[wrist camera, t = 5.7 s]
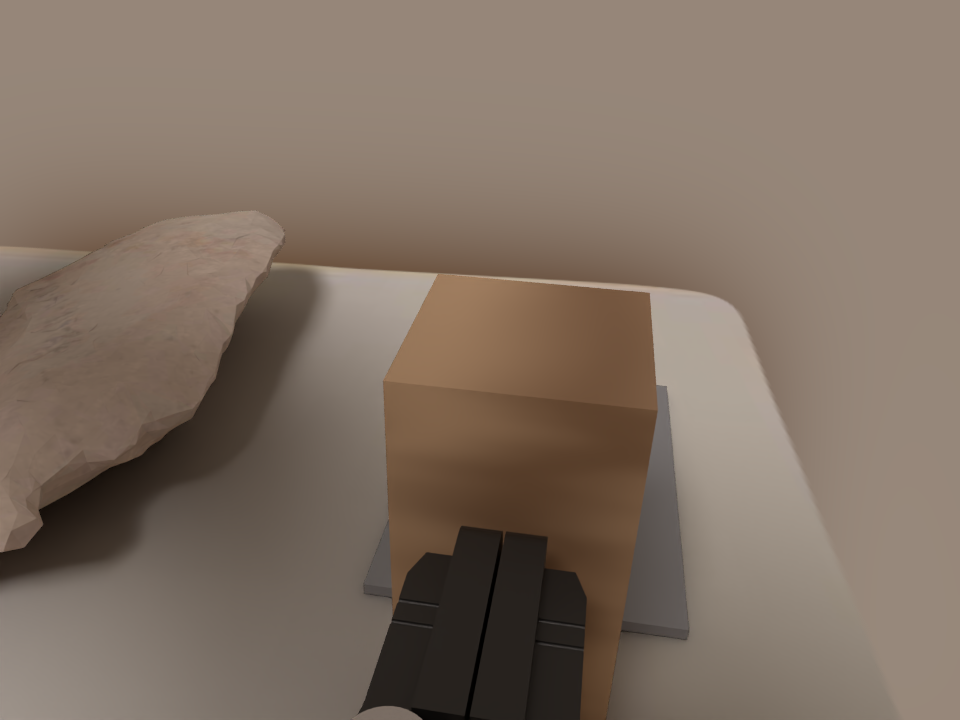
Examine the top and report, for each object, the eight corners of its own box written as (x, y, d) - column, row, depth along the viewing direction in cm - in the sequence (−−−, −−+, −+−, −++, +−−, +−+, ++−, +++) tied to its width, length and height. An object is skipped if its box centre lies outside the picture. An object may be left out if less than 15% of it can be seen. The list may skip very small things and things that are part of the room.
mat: (364, 593, 25) (363, 584, 24) (448, 370, 37) (448, 363, 36) (686, 639, 23) (689, 630, 23) (665, 393, 35) (666, 386, 35)
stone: (-412, 552, 22) (85, 209, 42) (-280, 674, 24) (125, 296, 45) (20, 535, 19) (326, 177, 40) (114, 676, 22) (353, 272, 42)
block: (400, 801, 19) (383, 380, 13) (438, 651, 23) (438, 274, 17) (586, 834, 18) (657, 410, 12) (592, 674, 22) (649, 292, 16)
